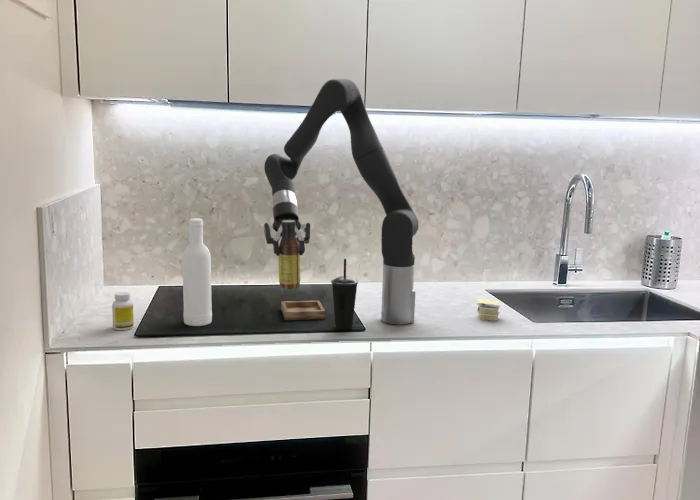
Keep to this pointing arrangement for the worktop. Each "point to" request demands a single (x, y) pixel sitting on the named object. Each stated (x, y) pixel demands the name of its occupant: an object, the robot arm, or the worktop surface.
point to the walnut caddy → (302, 310)
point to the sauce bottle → (289, 257)
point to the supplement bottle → (122, 311)
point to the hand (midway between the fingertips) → (289, 253)
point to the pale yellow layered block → (488, 309)
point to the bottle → (197, 278)
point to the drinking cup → (344, 300)
